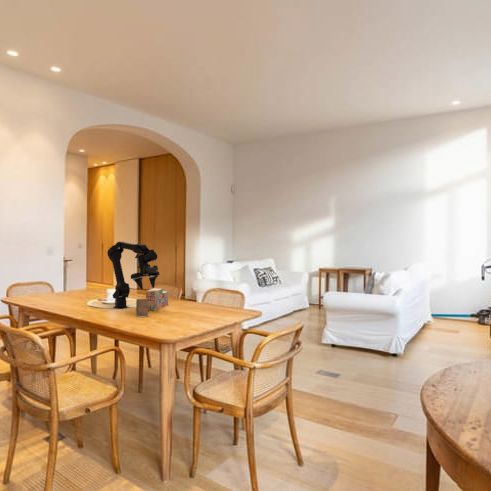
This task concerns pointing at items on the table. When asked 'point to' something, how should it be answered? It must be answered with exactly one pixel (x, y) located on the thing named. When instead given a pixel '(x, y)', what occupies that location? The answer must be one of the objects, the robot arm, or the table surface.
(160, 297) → the stack of blocks
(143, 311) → the walnut block
